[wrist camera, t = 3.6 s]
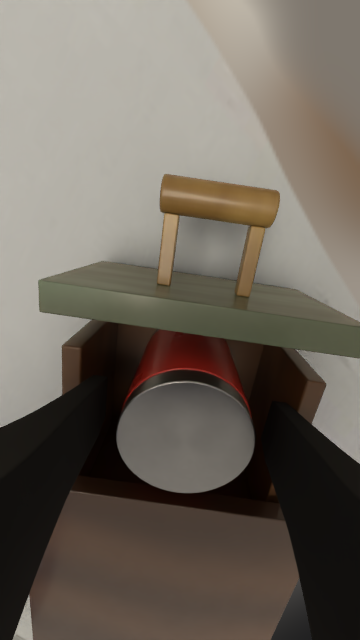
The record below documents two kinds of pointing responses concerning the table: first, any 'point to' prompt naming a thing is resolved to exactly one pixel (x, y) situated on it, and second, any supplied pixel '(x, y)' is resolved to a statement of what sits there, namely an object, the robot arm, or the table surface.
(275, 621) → the cabinet
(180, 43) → the table surface
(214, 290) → the drawer
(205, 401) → the can
